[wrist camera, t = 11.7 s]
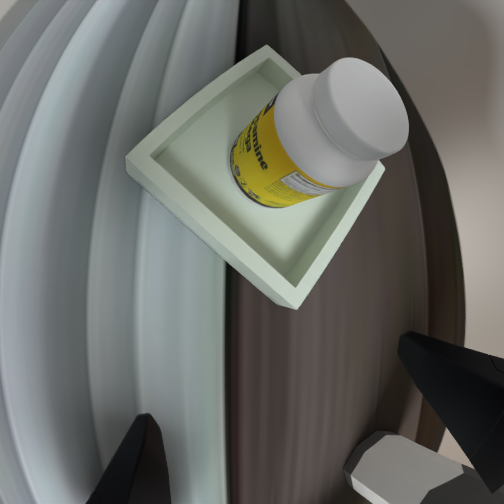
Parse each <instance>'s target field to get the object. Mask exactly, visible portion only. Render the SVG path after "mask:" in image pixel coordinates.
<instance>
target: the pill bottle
mask: <svg viewBox="0 0 504 504" xmlns="http://www.w3.org/2000/svg"><path fill="white" fill-rule="evenodd" d="M408 132H409V123H408V117H407V113H406V110H405V107H404V104H403V102H402V100H401V98H400V96H399V94H398V92H397V91H396V89H395V88H394V86H393V85H392V83H391V82H390V81H389V80H388V79H387V78H386V77H385V76H384V75H383V74H382V73H381V72H380V71H379V70H378V69H376V68H375V67H374V66H372V65H371V64H369V63H367V62H365V61H362V60H360V59H356V58H342V59H339V60H337V61H335V62H334V63H333V64H332V65H330V66H329V67H328V68H327V69H325V70H324V71H323V72H321V73H320V74H307V75H303V76H299V77H297V78H295V79H293V80H292V81H290V82H289V83H288V84H287V85H285V86H284V87H283V88H282V89H281V90H280V91H279V92H278V93H277V94H276V95H275V96H274V97H273V98H272V100H271V101H270V102H269V103H268V104H267V105H266V106H265V107H264V108H263V109H262V110H261V111H260V112H259V113H258V114H257V116H256V117H255V118H254V119H253V120H252V121H251V122H250V123H249V125H248V126H247V127H246V128H245V129H244V130H243V131H242V132H241V133H240V134H239V136H238V137H237V138H236V140H235V141H234V143H233V145H232V147H231V149H230V152H229V157H228V170H229V175H230V178H231V180H232V182H233V184H234V186H235V187H236V189H237V190H238V192H239V193H240V194H241V195H242V196H243V197H244V198H245V199H247V200H248V201H249V202H251V203H253V204H255V205H257V206H259V207H262V208H266V209H281V208H285V207H289V206H292V205H295V204H298V203H301V202H303V201H306V200H309V199H312V198H315V197H318V196H321V195H324V194H327V193H330V192H333V191H336V190H340V189H343V188H346V187H349V186H352V185H354V184H357V183H359V182H361V181H362V180H364V179H365V178H367V177H368V176H369V175H370V174H371V172H372V171H373V170H374V168H375V167H376V164H377V162H378V160H379V159H382V158H384V157H387V156H389V155H392V154H394V153H396V152H398V151H399V150H401V149H402V148H403V146H404V145H405V143H406V141H407V138H408Z"/></svg>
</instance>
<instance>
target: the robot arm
mask: <svg viewBox="0 0 504 504" xmlns="http://www.w3.org/2000/svg"><path fill="white" fill-rule="evenodd" d="M398 356H399V358H400V359H401V361H402V363H403V364H404V366H405V368H406V370H407V371H408V373H409V375H410V376H411V378H412V380H413V381H414V383H415V385H416V386H417V388H418V389H419V390H420V392H421V393H422V394H423V396H424V397H425V398H426V400H427V401H428V402H429V404H430V405H431V407H432V408H433V409H434V411H435V412H436V413H437V415H438V416H439V418H440V419H441V420H442V422H443V423H444V424H445V426H446V427H447V429H448V430H449V431H450V433H451V434H452V436H453V437H454V438H455V440H456V441H457V443H458V444H459V446H460V447H461V449H462V450H463V451H464V453H465V454H466V456H467V457H468V459H469V461H470V462H471V464H472V465H473V467H474V468H475V469H476V471H477V473H478V474H479V476H480V477H481V479H482V480H483V482H484V483H485V485H486V486H487V488H488V489H489V491H490V492H491V493H492V494H493V493H495V492H496V491H497V490H498V489H499V488H501V487H502V486H503V485H504V359H503V358H499V357H496V356H492V355H488V354H485V353H482V352H478V351H475V350H472V349H468V348H465V347H462V346H458V345H455V344H452V343H448V342H445V341H442V340H439V339H435V338H432V337H429V336H426V335H423V334H419V333H416V332H413V331H407V332H405V333H403V334H401V335H400V338H399V344H398ZM94 490H95V491H93V492H92V494H91V496H90V497H89V499H88V501H87V502H86V504H171V496H170V486H169V474H168V467H167V461H166V456H165V451H164V445H163V440H162V434H161V430H160V427H159V426H158V424H157V423H156V421H155V420H154V418H153V417H152V416H151V414H149V413H145V414H139V415H138V416H137V417H136V418H135V420H134V422H133V424H132V425H131V427H130V429H129V430H128V432H127V434H126V435H125V437H124V439H123V440H122V442H121V444H120V446H119V447H118V449H117V451H116V452H115V454H114V456H113V458H112V459H111V461H110V463H109V464H108V466H107V468H106V470H105V471H104V473H103V475H102V477H101V478H100V480H99V482H98V483H97V485H96V487H95V489H94Z"/></svg>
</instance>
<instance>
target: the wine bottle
mask: <svg viewBox="0 0 504 504" xmlns="http://www.w3.org/2000/svg"><path fill="white" fill-rule="evenodd" d="M343 470H344V474H345V478H346V482H347V483H348V484H349V485H350V486H351V487H352V488H353V489H354V490H356V491H357V492H358V493H359V494H361V495H362V496H363V497H365V498H366V499H367V500H369V501H370V502H371V503H373V504H504V485H503V486H502V487H501V488H499V489H498V490H497V491H496V492H495V493H493V494H492V493H491V492H490V491H489V489H488V488H487V486H486V485H485V483H484V482H483V480H482V479H481V477H480V476H479V474H478V473H477V471H476V470H475V469H472V468H470V467H468V466H465V465H463V464H461V463H458V462H456V461H454V460H451V459H449V458H447V457H444V456H442V455H440V454H438V453H436V452H434V451H431V450H429V449H427V448H425V447H423V446H421V445H419V444H417V443H415V442H413V441H411V440H409V439H407V438H405V437H403V436H401V435H399V434H396V433H394V432H389V431H376V432H374V433H373V434H372V435H371V436H369V437H368V438H367V439H365V440H364V441H363V442H361V443H360V444H359V445H357V446H356V447H355V449H354V451H353V453H352V454H351V456H350V458H349V459H348V461H347V463H346V464H345V466H344V468H343Z"/></svg>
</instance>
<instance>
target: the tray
mask: <svg viewBox="0 0 504 504" xmlns="http://www.w3.org/2000/svg"><path fill="white" fill-rule="evenodd" d="M299 76H302V75H301V74H300V73H299V72H297V71H296V70H295V69H294V68H293V67H292V66H291V65H290V64H289V63H288V62H287V61H285V60H284V59H283V58H282V57H281V56H280V55H279V54H277V53H276V52H275V51H274V50H273V49H272V48H270V47H269V46H268V45H265V46H264V47H262V48H260V49H259V50H257V51H256V52H254V53H252V54H251V55H249V56H248V57H246V58H245V59H243V60H242V61H240V62H239V63H237V64H236V65H235V66H233V67H232V68H230V69H229V70H227V71H226V72H225V73H223V74H222V75H220V76H219V77H218V78H216V79H215V80H213V81H212V82H211V83H209V84H208V85H207V86H205V87H204V88H203V89H202V90H200V91H199V92H198V93H196V94H195V95H194V96H193V97H191V98H190V99H189V100H188V101H186V102H185V103H184V104H183V105H181V106H180V107H179V108H178V109H177V110H175V111H174V112H173V113H172V114H171V115H170V116H168V117H167V118H166V119H165V120H164V121H163V122H162V123H160V124H159V125H158V126H157V127H156V128H155V129H154V130H153V131H151V132H150V133H149V134H148V135H147V136H146V137H145V138H144V139H143V140H142V141H141V142H140V143H139V144H138V145H137V146H135V147H134V148H133V149H132V150H131V151H130V152H129V153H128V154H127V155H126V156H125V162H126V172H127V173H128V174H129V175H130V176H131V177H132V178H133V179H135V180H136V181H137V182H138V183H139V184H140V185H141V186H142V187H143V188H144V189H146V190H147V191H148V192H149V193H150V194H151V195H152V196H153V197H154V198H155V199H157V200H158V201H159V202H160V203H161V204H162V205H163V206H164V207H165V208H167V209H168V210H169V211H170V212H171V213H172V214H173V215H174V216H175V217H177V218H178V219H179V220H180V221H181V222H182V223H183V224H184V225H186V226H187V227H188V228H189V229H190V230H191V231H192V232H193V233H195V234H196V235H197V236H198V237H199V238H200V239H201V240H203V241H204V242H205V243H206V244H207V245H208V246H209V247H210V248H212V249H213V250H214V251H215V252H216V253H217V254H218V255H220V256H221V257H222V258H223V259H224V260H225V261H227V262H228V263H229V264H230V265H231V266H232V267H233V268H235V269H236V270H237V271H238V272H239V273H240V274H242V275H243V276H244V277H245V278H246V279H247V280H248V281H250V282H251V283H252V284H253V285H254V286H255V287H257V288H258V289H259V290H260V291H261V292H263V293H264V294H265V295H266V296H267V297H268V298H270V299H271V300H272V301H273V302H274V303H275V304H277V305H281V306H285V307H288V308H292V309H296V310H297V309H298V308H299V306H300V305H301V304H302V302H303V301H304V299H305V298H306V296H307V295H308V293H309V292H310V290H311V289H312V287H313V286H314V284H315V283H316V281H317V280H318V278H319V277H320V275H321V274H322V272H323V271H324V269H325V268H326V266H327V265H328V263H329V262H330V260H331V258H332V257H333V255H334V254H335V252H336V251H337V249H338V248H339V246H340V244H341V243H342V241H343V240H344V238H345V236H346V235H347V233H348V232H349V230H350V228H351V227H352V225H353V223H354V222H355V220H356V218H357V217H358V215H359V213H360V212H361V210H362V208H363V207H364V205H365V203H366V202H367V200H368V198H369V197H370V195H371V193H372V191H373V190H374V188H375V186H376V184H377V183H378V181H379V179H380V177H381V176H382V174H383V172H384V170H385V168H384V166H383V165H382V164H381V163H380V161H379V160H378V162H377V164H376V167H375V168H374V170H373V171H372V172H371V174H370V175H369V176H368V177H367V178H365V179H364V180H362V181H361V182H359V183H357V184H354V185H352V186H349V187H346V188H343V189H340V190H336V191H333V192H330V193H327V194H324V195H321V196H318V197H315V198H312V199H309V200H306V201H303V202H301V203H298V204H295V205H292V206H289V207H285V208H281V209H266V208H262V207H259V206H257V205H255V204H253V203H251V202H249V201H248V200H247V199H245V198H244V197H243V196H242V195H241V194H240V193H239V192H238V190H237V189H236V187H235V186H234V184H233V182H232V180H231V178H230V175H229V170H228V157H229V152H230V149H231V147H232V145H233V143H234V141H235V140H236V138H237V137H238V136H239V134H240V133H241V132H242V131H243V130H244V129H245V128H246V127H247V126H248V125H249V123H250V122H251V121H252V120H253V119H254V118H255V117H256V116H257V114H258V113H259V112H260V111H261V110H262V109H263V108H264V107H265V106H266V105H267V104H268V103H269V102H270V101H271V100H272V98H273V97H274V96H275V95H276V94H277V93H278V92H279V91H280V90H281V89H282V88H283V87H284V86H285V85H287V84H288V83H289V82H290V81H292V80H293V79H295V78H297V77H299Z"/></svg>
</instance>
